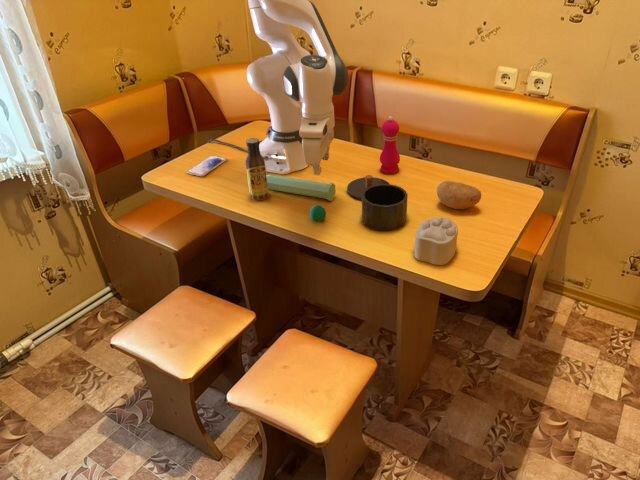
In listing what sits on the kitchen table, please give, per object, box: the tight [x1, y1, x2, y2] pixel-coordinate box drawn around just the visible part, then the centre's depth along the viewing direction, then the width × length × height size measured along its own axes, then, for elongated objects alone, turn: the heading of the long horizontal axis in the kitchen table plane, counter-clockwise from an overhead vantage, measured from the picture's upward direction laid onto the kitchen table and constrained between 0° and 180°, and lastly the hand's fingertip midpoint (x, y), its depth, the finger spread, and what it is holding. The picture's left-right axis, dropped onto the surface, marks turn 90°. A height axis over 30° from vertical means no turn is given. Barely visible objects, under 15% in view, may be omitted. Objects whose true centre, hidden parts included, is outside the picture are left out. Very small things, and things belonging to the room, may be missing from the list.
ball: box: [309, 204, 327, 223], centre depth 152 cm, size 5×5×5 cm
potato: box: [436, 180, 482, 210], centre depth 156 cm, size 10×14×8 cm
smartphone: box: [187, 154, 227, 177], centre depth 183 cm, size 7×1×15 cm
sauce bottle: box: [245, 137, 269, 201], centre depth 159 cm, size 6×6×20 cm
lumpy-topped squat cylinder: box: [414, 216, 459, 266], centre depth 137 cm, size 10×13×9 cm
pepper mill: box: [379, 115, 401, 175], centre depth 173 cm, size 7×7×20 cm
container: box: [266, 174, 337, 202], centre depth 165 cm, size 6×6×25 cm
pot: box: [361, 183, 409, 232], centre depth 151 cm, size 14×14×8 cm
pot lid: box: [346, 174, 390, 200], centre depth 166 cm, size 15×15×5 cm
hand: (321, 166), depth 144 cm, fingers open, 8 cm apart
